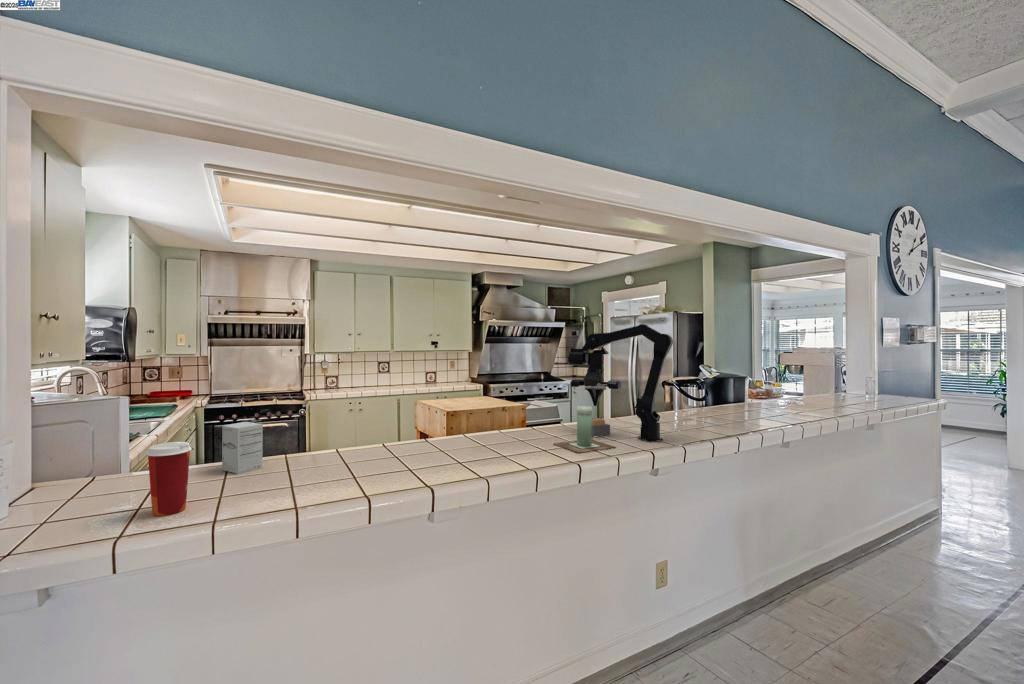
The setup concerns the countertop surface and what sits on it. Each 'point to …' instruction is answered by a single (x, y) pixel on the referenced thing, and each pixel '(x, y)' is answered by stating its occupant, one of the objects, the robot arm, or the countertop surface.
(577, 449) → the picture board
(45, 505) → the countertop surface
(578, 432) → the green capped bottle
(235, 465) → the supplement box
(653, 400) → the robot arm
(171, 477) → the paper cup
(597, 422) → the button
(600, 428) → the button box
